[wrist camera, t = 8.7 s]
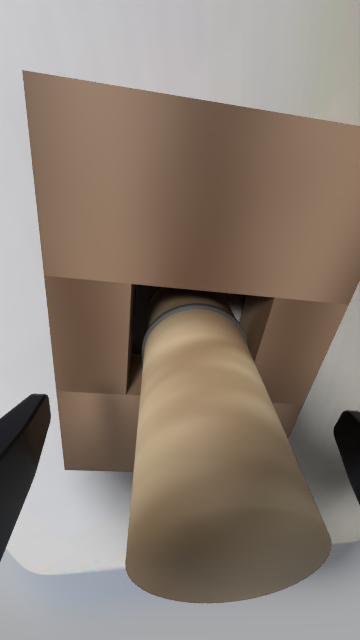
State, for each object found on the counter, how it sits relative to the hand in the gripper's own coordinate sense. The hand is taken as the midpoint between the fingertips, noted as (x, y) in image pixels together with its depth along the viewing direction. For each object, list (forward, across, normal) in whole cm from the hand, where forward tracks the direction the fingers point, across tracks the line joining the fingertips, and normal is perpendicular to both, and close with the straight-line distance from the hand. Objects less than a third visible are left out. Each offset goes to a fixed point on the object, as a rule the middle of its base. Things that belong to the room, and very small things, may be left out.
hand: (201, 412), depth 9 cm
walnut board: (+6, 0, 0) cm, 6 cm away
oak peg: (+6, 0, 0) cm, 6 cm away
